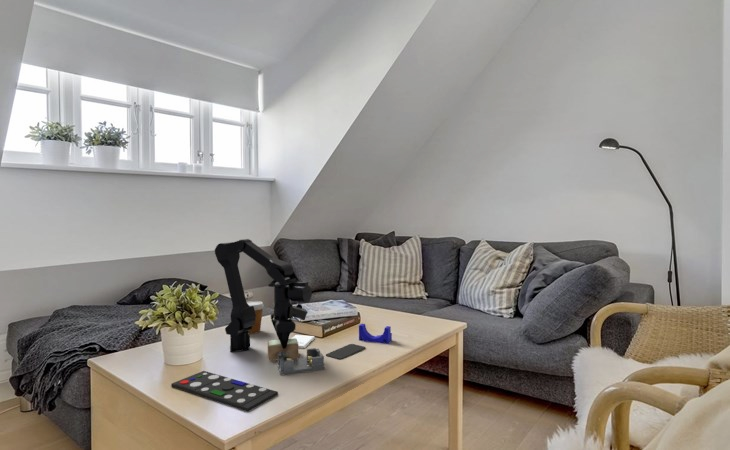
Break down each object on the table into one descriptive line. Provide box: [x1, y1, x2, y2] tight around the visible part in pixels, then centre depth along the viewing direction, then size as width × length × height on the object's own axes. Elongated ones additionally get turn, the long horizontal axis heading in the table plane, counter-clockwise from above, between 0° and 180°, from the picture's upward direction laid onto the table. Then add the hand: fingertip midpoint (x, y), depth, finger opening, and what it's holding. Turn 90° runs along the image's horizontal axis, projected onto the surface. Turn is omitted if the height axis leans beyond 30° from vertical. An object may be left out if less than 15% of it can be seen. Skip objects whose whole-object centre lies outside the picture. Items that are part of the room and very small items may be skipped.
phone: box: [325, 343, 366, 360], centre depth 151 cm, size 7×1×15 cm
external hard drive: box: [290, 334, 316, 349], centre depth 161 cm, size 2×8×12 cm
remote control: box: [171, 370, 279, 412], centre depth 118 cm, size 11×30×2 cm, turn 60°
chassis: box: [276, 347, 326, 376], centre depth 136 cm, size 14×10×4 cm
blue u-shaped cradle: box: [358, 323, 393, 345], centre depth 164 cm, size 12×4×6 cm, turn 69°
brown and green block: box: [267, 338, 299, 361], centre depth 146 cm, size 10×6×5 cm, turn 106°
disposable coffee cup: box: [246, 300, 265, 335], centre depth 176 cm, size 10×10×12 cm
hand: (282, 344), depth 146 cm, fingers open, 9 cm apart
